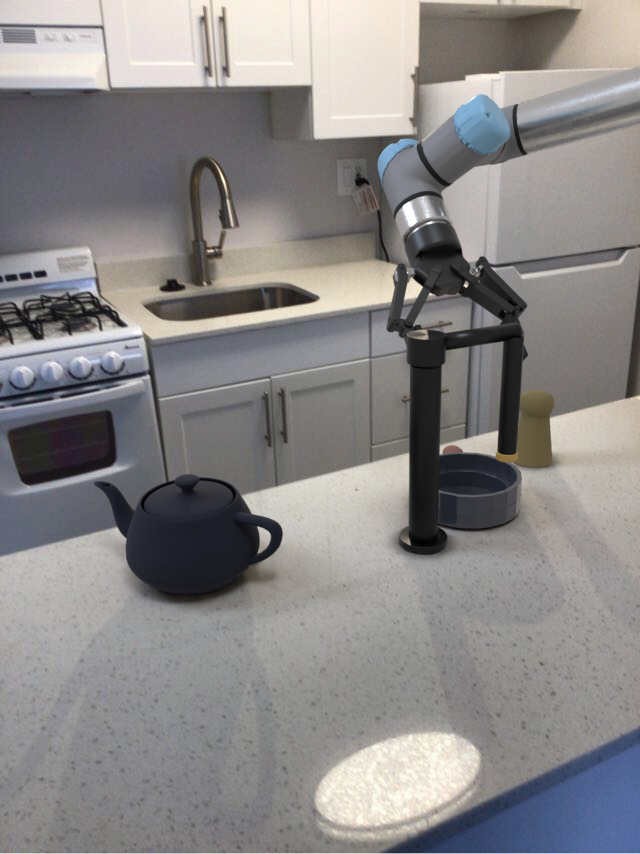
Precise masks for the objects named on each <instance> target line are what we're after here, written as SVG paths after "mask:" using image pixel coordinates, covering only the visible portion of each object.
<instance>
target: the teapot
mask: <svg viewBox="0 0 640 854" xmlns="http://www.w3.org/2000/svg"><path fill="white" fill-rule="evenodd" d="M93 485H94V486H95V487H97V488H98V489H99V490H101V491H102V492H103V493H104V494H105V496H106V497H107V499H108V502H109V504H110V507H111V510H112V514H113V515H112V516H113V518H114V522H115V525H116V527H117V529H118V531H119V533H120V534H121V535H122V536H123V537H124V538H125V539H126V540H125V559H126V563H127V565H128V567H129V569H130V571H131V573H133V575H134V576H135V577H136V578H137V579H139V580H140V581H141V582H143V583H144V584H146V585H149V586H150V587H152V588H155V589H157V590H159V591H161V592H163V593H167V594H171V595H179V596H196V595H202V594H207V593H212V592H215V591H217V590H220V589H222V588H224V587H227V586H228V585H230V584H231V583H233V582H234V581H235V580H236V579H238V578H239V577H240V576H241V575H242V574H244V573H245V572H246V571H247V570H248V569H249V567H251V566H254V565H256V564H259V563H262V562H263V561H266V560H268V559H269V558H270V557H271V556H273V555H274V554H275V553H276V552H277V551H278V549H279V548H280V546H281V544H282V542H283V536H284V534H283V533H284V531H283V528H282V526H281V524H280V523H279V522H277V521H276V520H275V519H273V518H271V517H267V516H263V515H259V514H255V513H252V511H251V509H250V508H249V505H248V504H247V503H246V500H245V498H244V497H243V496H242V495H241V493H240V491H239V490H238V488H236V486H234V485H233V484H231V483H229V482H228V481H225V480H222V479H218V478H215V477H204V476H202V477H201V476H198V475H196V474H193V473H186V474H181V475H179V476H176V477H175V479H173V480H169V481H165V482H163V483H160V484H157V485H156V486H154V487H152V488H150V489H149V490H147V491H146V492H145V493H144V494H143V495H141V497H140V498H139V500H138V502H137V504H136V507H135V508H134V509H135V510H134V509H133V507H132V506H131V505H130V503H129V502H128V501H127V499H126V498H125V496H124V495H123V493H122V492H121V490H120V489H119V488H118V487H117V486H116V485H114V484H113V483H111V482H109V481H101V480H98V481H97V480H96V481H94V482H93ZM259 528H261V529H264V530H266V531H267V532H268V533H269V535H270V540H269V543H268V544H267V546H266V548H264V550H262V551H261V552H259V550H260V548H261V547H260V546H261V535H260V531H259Z"/></svg>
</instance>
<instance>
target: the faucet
mask: <svg viewBox="0 0 640 854" xmlns="http://www.w3.org/2000/svg"><path fill="white" fill-rule="evenodd" d="M442 373H443V365H440V366H436V367H417V366H412V365H410V364H409V428H408V429H409V435H408V437H409V440H408V441H409V442H408V443H409V444H408V449H409V450H408V451H409V452H408V525H407V526H404V527H403V528H402V529H401V530H400V531H399V533H398V544H399V546H400V547H401V548H402V549H403V550H404V551H406V552H408V553H412V554H414V555H415V554H416V555H433V554H437V553H441V552H442V551H444V550H445V549H446V548H447V545H448V533H447V532H446V531H445V530H444V529H443V528H441V527H440V526H439V523H438V501H439V461H440V454H441V419H442V418H441V417H442V415H441V413H442V381H443V379H442V377H443V375H442Z"/></svg>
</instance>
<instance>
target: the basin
mask: <svg viewBox="0 0 640 854" xmlns="http://www.w3.org/2000/svg"><path fill="white" fill-rule="evenodd" d="M522 475H523V474H522V472H521V470H520V469H519V468H518V467H517V466H516V465H515V464H513V463H512V462H511V463H505V462H500V461H498V460H497V459H496V455H495V456H494V455H492V454H487V453H486V454H485V453H479V452H465V451H463V452H455V453H444V454H443V453H440V461H439V501H438V525H444V526H448V527H452V528H457V529H460V528H461V529H485V528H492V527H495V526H499V525H503V524H506V523H507V522H509V521H511V520H513V519H514V518H516V516H517V515H518V514H519V512H520V510H521V501H522V486H523V477H522Z"/></svg>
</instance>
